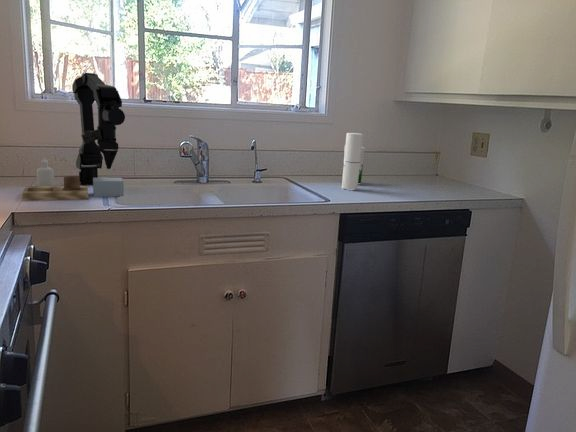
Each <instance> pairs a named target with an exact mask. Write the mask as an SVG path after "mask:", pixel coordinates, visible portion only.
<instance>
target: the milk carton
mask: <svg viewBox="0 0 576 432" xmlns="http://www.w3.org/2000/svg"><path fill="white" fill-rule="evenodd" d="M343 146H344V150H343V151H344V152H343V153H344V154H343V155H344V156H345V145H343ZM365 151H366V147H364V146H362V148H361V158H360V168H359V178H358V183H362V177H363V168H364V167H363V166H364V158H365V157H364V156H365ZM344 156H343V157H344ZM343 167H344V163H343V165H342V168H343ZM341 178H343V174H342V176H341Z"/></svg>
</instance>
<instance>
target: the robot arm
mask: <svg viewBox="0 0 576 432" xmlns="http://www.w3.org/2000/svg"><path fill="white" fill-rule="evenodd" d="M71 86H72V88H71V89H72V93H73V95H74V96H73V98H74V99H75V101H76V102H77V104H78V105H79V112H80V114H79V115H80V123H81V124H80V125H81V135H80V136H81V138H82V143H81V145H80V146H79V148H78V154H77V157H76V161H75V165H76V166H75V167H76V169H78V170H79V171H78V176H80V186H89V185H91V186H93V178H99V174H98V173H99V171H98V169H102V167H103V158H104V163H105V164H104V165H105V166H106V169H107V170H110V169H111V168H112V166H113V163H114V161H115V159H116V156H117V154H118V152H119V151H118V150H119V143H118V142H117V135H116V130H117V126H120V125H122V124H123V123H124V122H125V120H126V115H125V112H124V111H123V110H122V109H121V108H122V107H123V105H122V104H123V100H122V98H121V95H120V93H119V91H118V90H117V87H115V86H113V85H109V84H106V83H105V82H104V81H103V80H102V79H101V78H100V77H99V75H98V74H97V73H92V72H82V75H81V76H78V77H77V78H75V79H74V81H73V83H72V85H71ZM94 102H95V103H96V106H97V107H96V108H97V119H98V120H97V121H98V123H97V127H96V128H97V129H95V124H94V123H95V122H94V121H95V120H94V108H93V104H94ZM96 141H97V142H96Z"/></svg>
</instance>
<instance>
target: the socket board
mask: <svg viewBox="0 0 576 432" xmlns="http://www.w3.org/2000/svg"><path fill="white" fill-rule="evenodd" d="M88 189H89V188H88V185H80V190H69V191H64V185H54V186H37V185H35V186H34V185H33V186H32V185H31V186H30V185H29V186H25V187H24V189H23V191H22V193H21V195H22V199H21V200H22V201H23V202H24V201H25V202H26V201H28V202H29V201H32V202H33V201H73V200H74V201H77V200H78V201H79V200H82V201H84V200H89V190H88Z"/></svg>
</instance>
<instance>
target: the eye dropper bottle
mask: <svg viewBox="0 0 576 432" xmlns="http://www.w3.org/2000/svg"><path fill="white" fill-rule="evenodd" d="M49 166H50V165H49V161H48V160H47V158H46V156H43V157H42V160H40V167H38V168H37V169H36V186H55V174H54V173H55V171H54V169H53V168H52V167H49Z"/></svg>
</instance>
